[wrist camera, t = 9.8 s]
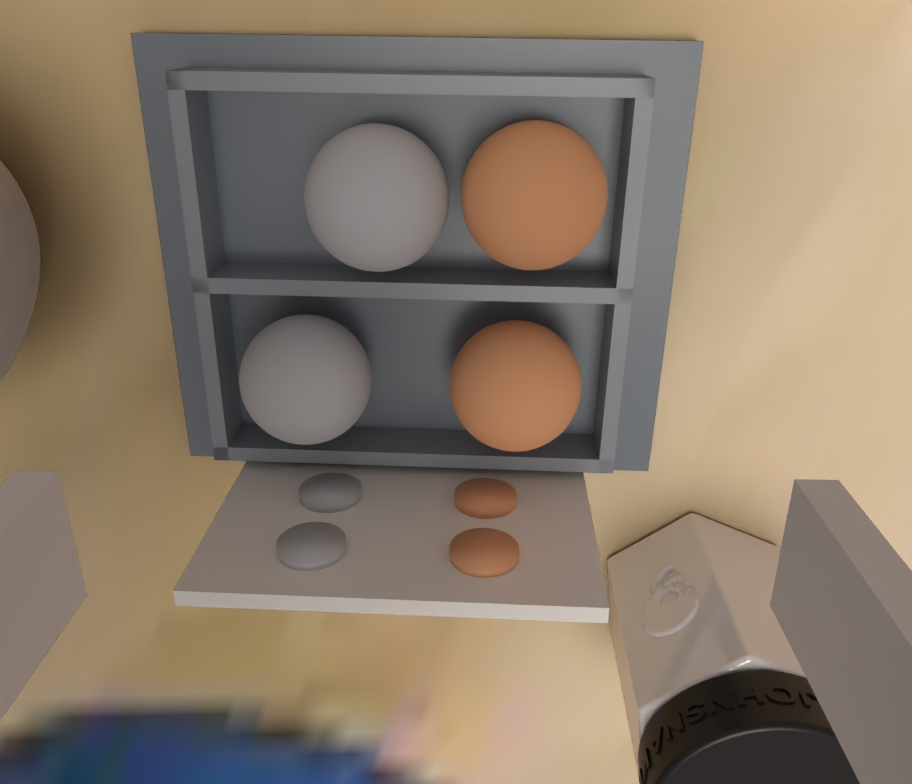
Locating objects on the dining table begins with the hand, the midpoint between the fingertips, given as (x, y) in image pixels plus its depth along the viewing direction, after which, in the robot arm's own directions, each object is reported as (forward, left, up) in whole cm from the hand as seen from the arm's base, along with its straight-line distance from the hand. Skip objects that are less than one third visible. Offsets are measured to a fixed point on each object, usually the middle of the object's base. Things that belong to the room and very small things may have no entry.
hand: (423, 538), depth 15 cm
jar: (+11, -16, -20) cm, 28 cm away
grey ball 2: (-5, +3, -17) cm, 18 cm away
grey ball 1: (-6, -4, -18) cm, 20 cm away
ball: (+2, +3, -18) cm, 19 cm away
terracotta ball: (+2, -4, -18) cm, 19 cm away
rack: (-2, 0, -19) cm, 19 cm away
